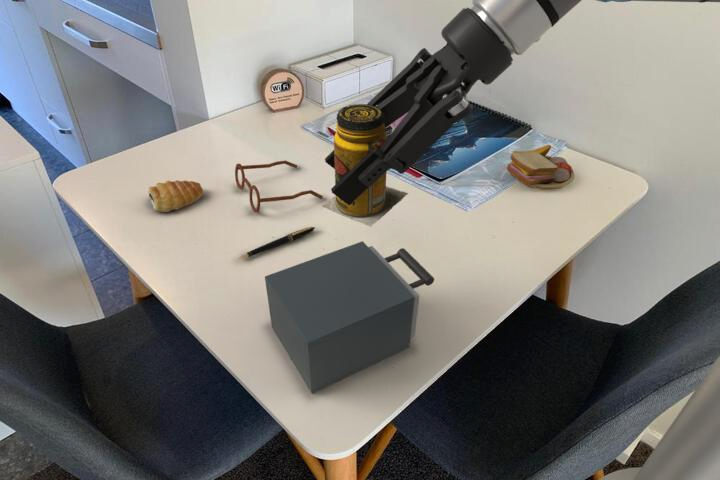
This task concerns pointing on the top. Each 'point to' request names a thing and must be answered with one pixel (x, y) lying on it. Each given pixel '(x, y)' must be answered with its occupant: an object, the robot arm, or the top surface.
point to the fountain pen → (280, 241)
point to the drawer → (416, 268)
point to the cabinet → (339, 314)
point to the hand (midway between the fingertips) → (336, 181)
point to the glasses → (244, 180)
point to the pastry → (174, 194)
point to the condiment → (351, 145)
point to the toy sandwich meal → (540, 169)
